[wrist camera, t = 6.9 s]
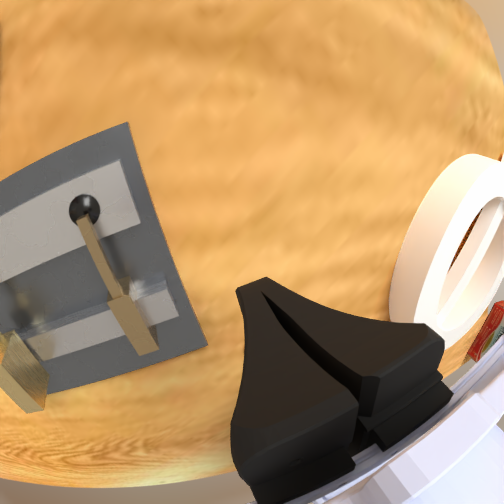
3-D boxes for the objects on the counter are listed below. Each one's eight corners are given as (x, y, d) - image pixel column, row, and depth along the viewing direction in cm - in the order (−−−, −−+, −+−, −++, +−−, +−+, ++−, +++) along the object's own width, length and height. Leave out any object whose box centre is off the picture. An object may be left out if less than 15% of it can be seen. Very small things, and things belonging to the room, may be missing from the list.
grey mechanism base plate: (205, 339, 25) (215, 365, 22) (40, 390, 21) (36, 415, 18) (128, 121, 16) (124, 121, 13) (-64, 227, 12) (-85, 243, 9)
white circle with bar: (504, 146, 31) (528, 154, 26) (479, 292, 44) (496, 304, 40) (393, 169, 24) (431, 182, 20) (375, 366, 38) (394, 387, 34)
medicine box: (477, 347, 59) (496, 363, 52) (465, 353, 56) (485, 372, 49) (503, 298, 53) (524, 314, 47) (494, 301, 50) (517, 318, 44)
